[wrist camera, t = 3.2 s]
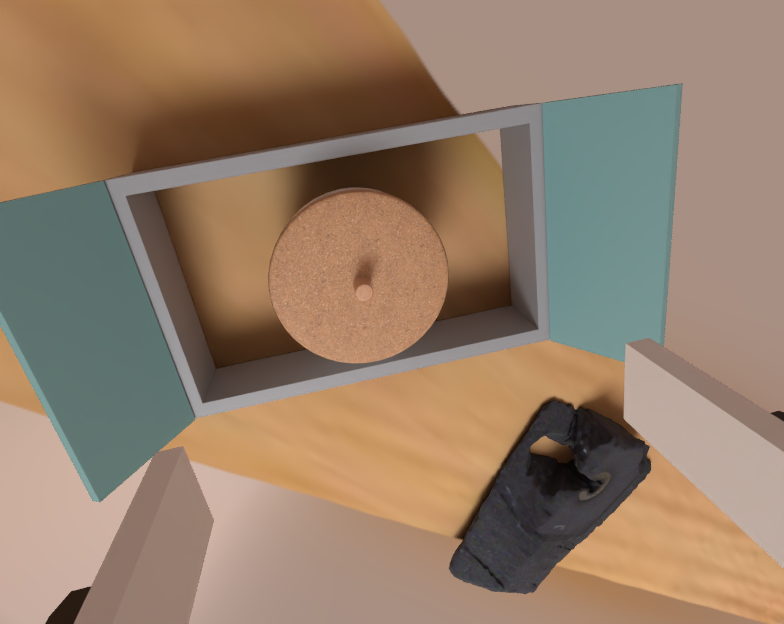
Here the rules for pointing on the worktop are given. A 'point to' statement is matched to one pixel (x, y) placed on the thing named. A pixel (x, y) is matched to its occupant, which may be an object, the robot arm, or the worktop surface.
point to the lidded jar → (358, 275)
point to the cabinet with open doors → (304, 368)
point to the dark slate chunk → (549, 499)
